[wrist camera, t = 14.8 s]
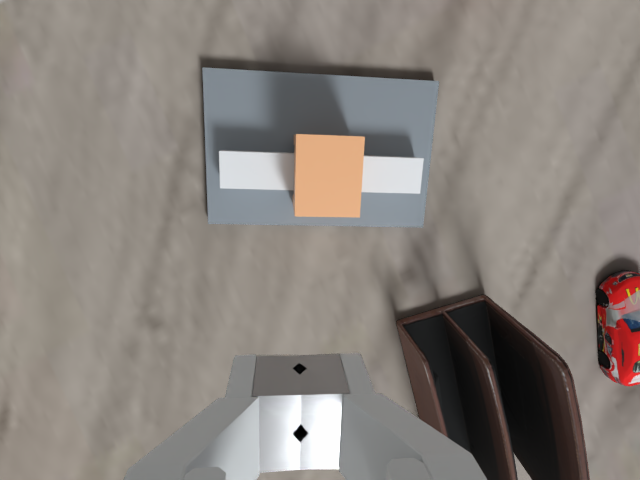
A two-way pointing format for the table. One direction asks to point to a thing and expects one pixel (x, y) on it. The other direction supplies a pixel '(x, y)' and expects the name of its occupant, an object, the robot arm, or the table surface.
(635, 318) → the race car
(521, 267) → the table surface
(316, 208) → the block
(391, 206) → the rail board
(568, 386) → the letter holder
